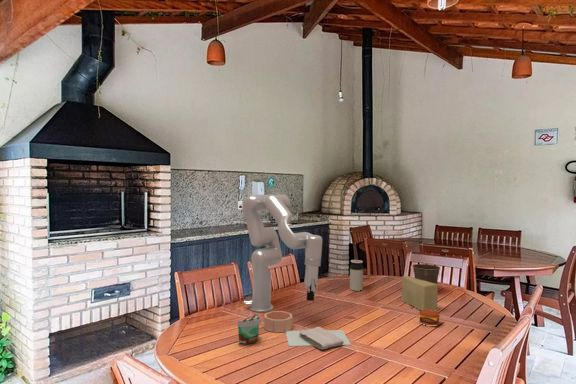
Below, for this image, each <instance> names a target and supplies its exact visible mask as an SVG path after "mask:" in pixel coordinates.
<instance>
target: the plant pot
mask: <svg viewBox="0 0 576 384" xmlns="http://www.w3.org/2000/svg"><path fill="white" fill-rule="evenodd" d="M412 269H413V273H414V278H416V279H420V280H424V281H428V282H431V283H435V284H437V285H438V280H439V275H440V269H441V266H438V265H434V264H428V263H427V264H425V263H415V264H412Z"/></svg>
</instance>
